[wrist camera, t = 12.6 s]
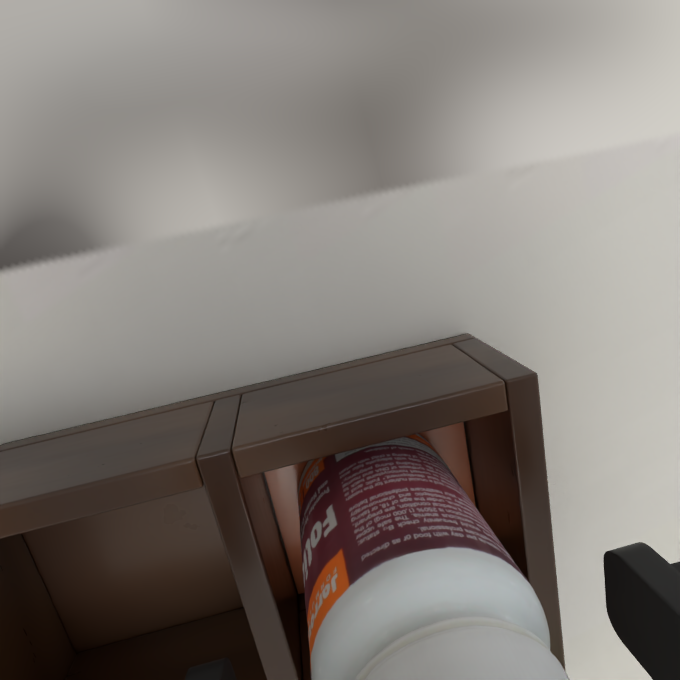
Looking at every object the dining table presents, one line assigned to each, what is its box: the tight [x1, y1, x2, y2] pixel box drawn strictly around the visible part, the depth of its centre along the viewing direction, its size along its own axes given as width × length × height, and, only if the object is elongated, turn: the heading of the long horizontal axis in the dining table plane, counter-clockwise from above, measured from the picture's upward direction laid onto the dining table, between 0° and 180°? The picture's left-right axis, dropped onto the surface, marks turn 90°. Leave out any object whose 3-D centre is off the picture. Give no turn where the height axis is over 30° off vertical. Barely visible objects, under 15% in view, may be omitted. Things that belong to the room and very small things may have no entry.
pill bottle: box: [298, 434, 569, 680], centre depth 11 cm, size 5×5×8 cm
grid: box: [0, 334, 565, 680], centre depth 14 cm, size 15×15×4 cm
